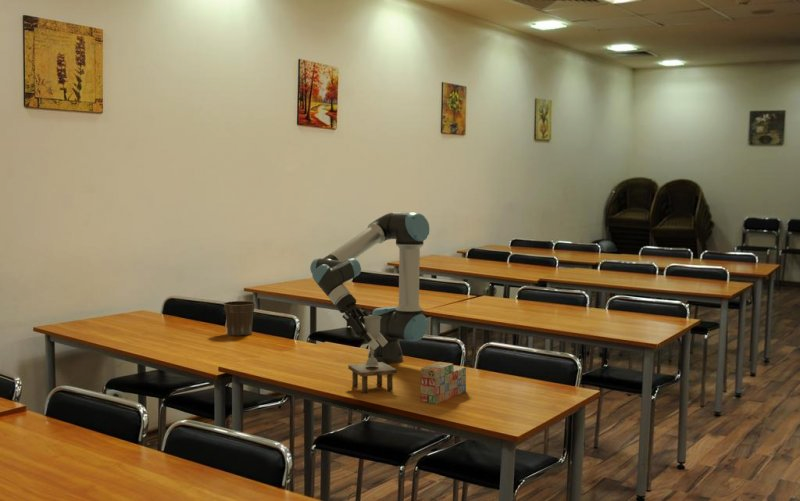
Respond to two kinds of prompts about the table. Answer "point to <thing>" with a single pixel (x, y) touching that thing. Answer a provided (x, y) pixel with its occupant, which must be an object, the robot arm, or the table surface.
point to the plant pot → (239, 317)
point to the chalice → (373, 328)
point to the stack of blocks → (442, 382)
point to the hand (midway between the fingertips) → (380, 346)
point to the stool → (372, 374)
